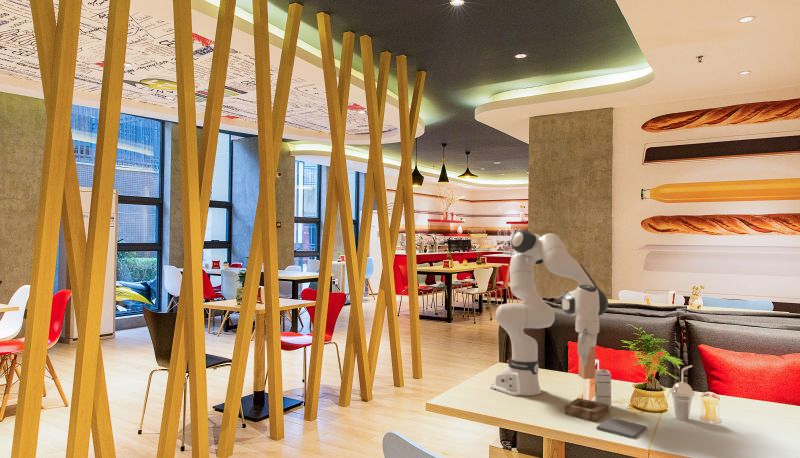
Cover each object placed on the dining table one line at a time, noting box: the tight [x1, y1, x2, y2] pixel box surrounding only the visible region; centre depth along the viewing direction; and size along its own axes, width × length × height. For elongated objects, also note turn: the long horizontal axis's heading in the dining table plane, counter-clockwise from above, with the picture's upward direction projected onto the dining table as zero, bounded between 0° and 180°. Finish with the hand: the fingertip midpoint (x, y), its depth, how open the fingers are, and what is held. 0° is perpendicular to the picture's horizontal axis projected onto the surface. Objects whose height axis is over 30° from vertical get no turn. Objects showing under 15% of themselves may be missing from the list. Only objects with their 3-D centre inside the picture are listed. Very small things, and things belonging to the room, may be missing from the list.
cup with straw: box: [669, 364, 696, 422], centre depth 210 cm, size 8×9×20 cm
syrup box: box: [594, 369, 612, 410], centre depth 223 cm, size 6×6×14 cm
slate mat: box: [596, 417, 647, 440], centre depth 199 cm, size 13×13×1 cm
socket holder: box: [564, 397, 610, 423], centre depth 215 cm, size 12×12×4 cm
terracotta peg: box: [578, 346, 596, 380], centre depth 215 cm, size 4×4×12 cm
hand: (586, 362), depth 215 cm, fingers closed on terracotta peg, 6 cm apart
